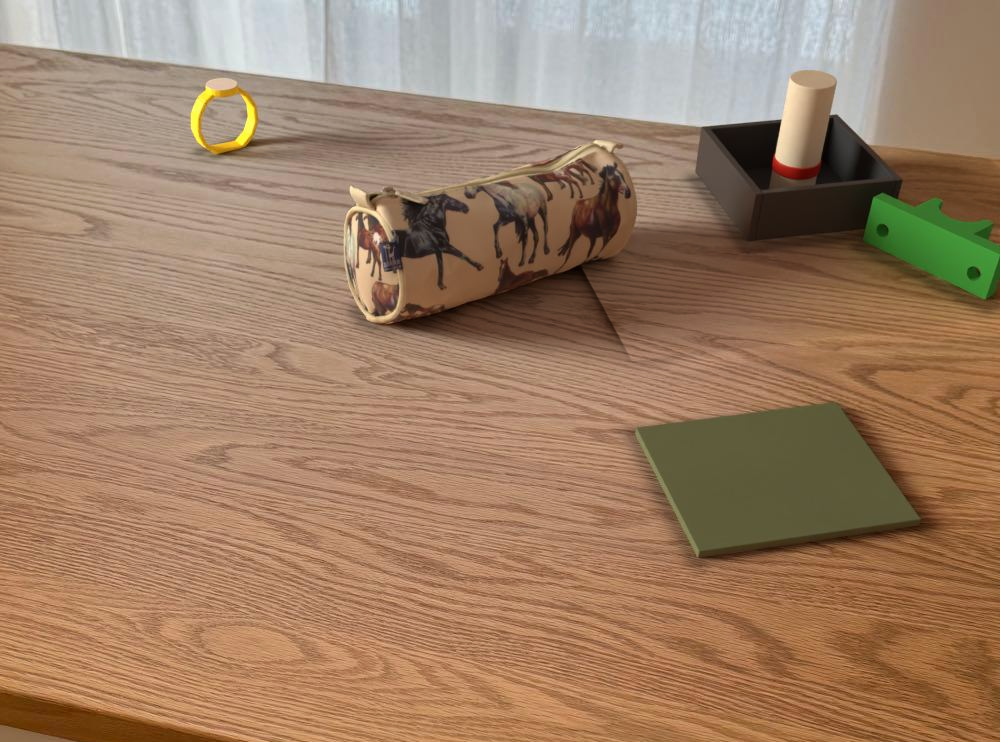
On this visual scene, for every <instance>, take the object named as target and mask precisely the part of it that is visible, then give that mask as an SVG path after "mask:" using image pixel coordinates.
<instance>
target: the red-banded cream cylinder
mask: <svg viewBox="0 0 1000 742" xmlns="http://www.w3.org/2000/svg"><path fill="white" fill-rule="evenodd" d="M837 84H838V81H837V79H836V77H835V76H834V75H832V74H830V73H828V72H825V71H821V70H815V69H802V70H798V71H794V72H792V73H791V74H790V75H789V78H788V84H787V90H786V95H785V101H784V106H783V111H782V116H781V119H782V121H781V127H780V132H779V138H778V143H777V148H776V153H775V154H774V158H773V163H772V169H773V170H772V175H771V181H770V186H769V189H779V188H789V187H799V186H809V185H815V183H816V178H817V175H818V173H819V170H820V166H821V155H822V150H823V146H824V141H825V136H826V131H827V127H828V122H829V117H830V115H831V113H832V108H833V102H834V99H835V94H836V89H837Z"/></svg>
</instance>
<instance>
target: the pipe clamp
mask: <svg viewBox="0 0 1000 742" xmlns="http://www.w3.org/2000/svg"><path fill="white" fill-rule="evenodd" d="M943 204H944V200H943V199H940V198H938V197H933V198H931V199H928V200H927V201H925V202H923V203H920V204H918V205H916V206H913V205H910V204H908V203H906V202H904V201H902V200H900V199H898V200H897V199H895V198H893V197H891V196H888V195H886V194H884V193H881V194H879V195H877V196H875V197H873V201H872V205H871V209H870V213H869V217H868V221H867V225H866V229H864V233H863V237H862V241H863V242H865V243H866V244H869V245H870V246H873V247H874V248H875V247H876V248H877V249H879V250H881V251H883V252H885V253H887V254H890V255H891V256H894V257H895V258H897V259H900V260H901V261H903V262H906V263H908V264H910V265H912V266H914V267H917V268H919V269H921V270H923V271H925V272H927V273H928V274H931V275H933V276H935V277H937V278H940V279H941V280H943V281H945V282H947V283H949V284H952V285H954V286H956V287H958V288H960V289H962V290H963V291H966V292H969V293H970V294H972V295H975V296H976V297H978V298H980V299H983V300H985V301H986V300H988V299H989V298H991V297H993V296H995V293H996V290H997V288H998V284H999V281H1000V245H999V244H997V243H995V242H993V241H991V240H990V237H991V235H992V231H993V228H994V225H995V222H992V221H990V220H989V219H983V220H979V221H966V220H965V221H964V220H959V219H955V218H952V217H950V216H948V215H946V214H945V213H943V212H942V211H941V210H942V207H943ZM885 225H886V226H887V227H885ZM887 229H888V230H887ZM977 270H979V272H980V274H979V273H978V272H977Z"/></svg>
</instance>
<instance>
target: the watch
mask: <svg viewBox="0 0 1000 742" xmlns="http://www.w3.org/2000/svg"><path fill="white" fill-rule="evenodd" d="M237 94H239V95H240V96H241V97H242V99H243V100H244V102H245V104H246V110H247V111H246V112H247V119H246V122H245V125H244V128H243V131H242V132H241V133H240V134H239V135H238V137H236V138H235V140H231V141H226V142H222V143H217V144H211V145H210V144H209V143H207V141H206V139H205V137H204V134H203V132H202V118H203V115H204V113H205V111H206V109H207V107H208V105H209V104H210V103H211V102H212V101H213V100H214V99H215V98H222V99H224V98H230V97H234V96H236V95H237ZM258 125H259V113H258V106H257V104H256V102H255V100H254V99H253V98H252V95H250V93H248V92H247V91H246V90H244V89H243V88H241V87H240V86H239V84H238V82H237V81H236V80H235V79H232V78H229V77H228V78H227V77H217V78H212V79H209V80H208V81H206V83H205V90H204V91H203V92H201V94H199V96H197V98H196V100H195V102H194V104H193V106H192V109H191V113H190V128H191V132H192V134H193V136H194V138H195V140H196V142H197V143H198V144H199V145H201V146H202V147H203V148H204V149H206V150H207V151H209V152H210V153H212V154H214V155H219V154H223V153H224V154H225V153H227V152H231V151H236V150H239V149H243V148H245V147H247V145H248V144H249V143H250V142H251V140H253V138H254V136H255V134H256V131H257V127H258Z"/></svg>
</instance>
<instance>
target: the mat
mask: <svg viewBox="0 0 1000 742" xmlns="http://www.w3.org/2000/svg"><path fill="white" fill-rule="evenodd" d="M634 435H635V437H636V439H637V441H638V443H639V445H640V447H641V449H642V451H643V453H644V455H645V457H646V459H647V461H648V462H649V465H650V467H651V469H652V471H653V473H654V475H655V477H656V479H657V480H658V482H659V484H660V486H661V488H662V491H663V492H664V494H665V496H666V498H667V500H668V502H669V504H670V507H671V508H672V510H673V512H674V514H675V516H676V518H677V520H678V522H679V525H680V526H681V528H682V530H683V532H684V534H685V536H686V538H687V540H688V542H689V544H690V545H691V548H692V550H693V552H694V553H695V556H696V557H697V559H700V558H706V557H714V556H721V555H729V554H736V553H742V552H748V551H755V550H762V549H770V548H776V547H782V546H789V545H797V544H803V543H810V542H816V541H823V540H830V539H837V538H844V537H851V536H857V535H863V534H864V535H865V534H871V533H872V534H873V533H878V532H885V531H891V530H899V529H905V528H911V527H912V528H913V527H917V526H918V527H919V526H920V524H921V521H922V518H921V517H920V515H919V514H918V512H916V510H915V508H914V507H913V506H912V504H911V503H910V502H909V501H908V499H907V498H906V496H905V494H904V493H903V492H902V490H901V489H900V488H899V486H898V484H896V482H895V480H893V478H892V477H891V475H890V474H889V472H888V471H887V470H886V468H885V467H884V465H883V464H882V463H881V461H880V460H879V459H878V457H877V456H876V454H875V453H874V452H873V450H872V449H871V448H870V447H869V445H868V443H867V442H866V441H865V439H864V438H863V436H862V435H861V433H859V431H858V430H857V428H856V427H855V425H854V424H853V423H852V421H851V420H850V418H849V417H848V416H847V414H846V413H845V412H844V410H843V409H842V407H841V406H840V405H839V403H838V402H837V401H833V402H826V403H818V404H817V403H816V404H810V405H801V406H794V407H786V408H778V409H770V410H763V411H755V412H748V413H739V414H733V415H724V416H717V417H708V418H701V419H693V420H685V421H678V422H671V423H670V422H669V423H661V424H653V425H647V426H646V425H645V426H637V427H635V432H634Z"/></svg>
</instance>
